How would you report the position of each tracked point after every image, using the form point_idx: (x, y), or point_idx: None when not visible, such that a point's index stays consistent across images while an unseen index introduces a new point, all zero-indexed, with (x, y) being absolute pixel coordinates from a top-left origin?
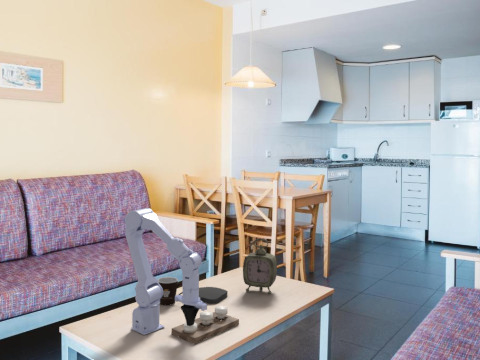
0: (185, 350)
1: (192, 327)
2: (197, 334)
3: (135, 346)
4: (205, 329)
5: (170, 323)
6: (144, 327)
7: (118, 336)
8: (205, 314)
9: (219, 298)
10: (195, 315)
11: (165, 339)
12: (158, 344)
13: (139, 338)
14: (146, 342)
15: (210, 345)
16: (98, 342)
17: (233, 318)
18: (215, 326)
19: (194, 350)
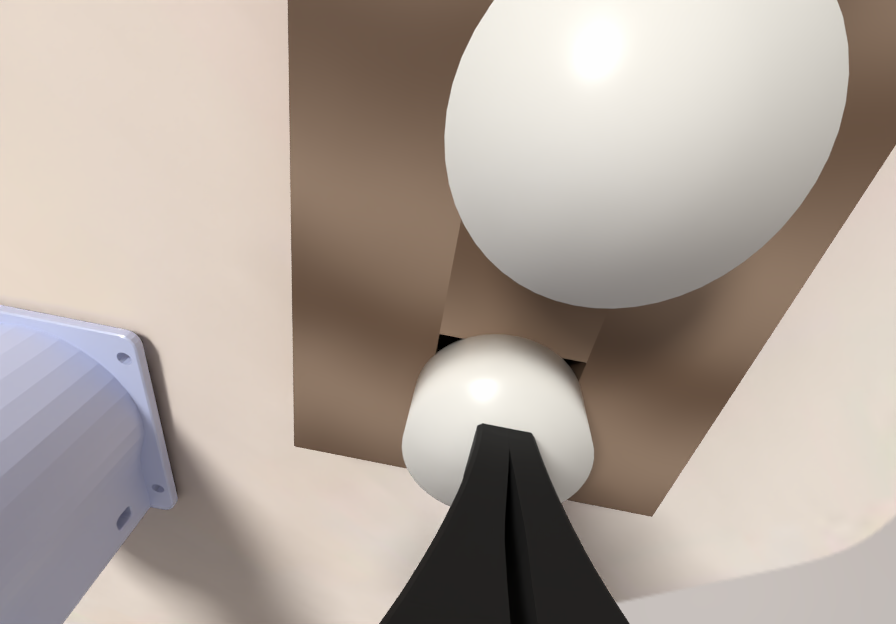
0: (616, 554)
1: (567, 496)
2: (636, 448)
3: (288, 600)
4: (673, 304)
5: (68, 206)
6: (118, 532)
7: None
8: (631, 207)
9: None
10: (580, 574)
11: (358, 488)
12: (380, 551)
13: (203, 533)
14: (291, 555)
15: (805, 435)
16: (102, 618)
17: None
18: None
19: (686, 536)
